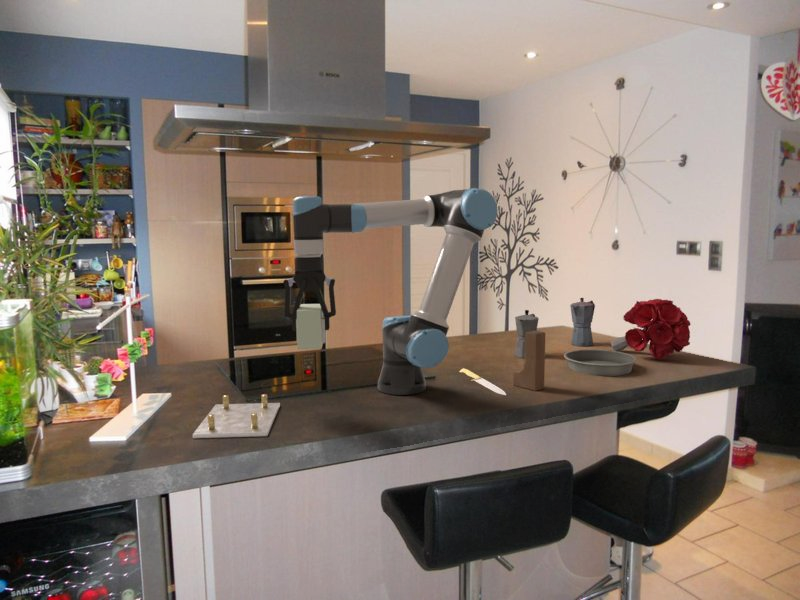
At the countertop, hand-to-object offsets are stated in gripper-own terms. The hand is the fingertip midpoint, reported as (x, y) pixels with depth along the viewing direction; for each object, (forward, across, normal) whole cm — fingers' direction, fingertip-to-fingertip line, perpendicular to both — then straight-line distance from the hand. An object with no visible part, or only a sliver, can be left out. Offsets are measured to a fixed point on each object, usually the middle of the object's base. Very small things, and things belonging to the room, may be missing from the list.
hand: (311, 342), depth 160 cm
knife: (+21, -52, -29) cm, 63 cm away
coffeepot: (+21, -78, -66) cm, 104 cm away
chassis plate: (+20, +19, +3) cm, 28 cm away
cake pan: (+21, -98, -44) cm, 109 cm away
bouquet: (+21, -124, -59) cm, 139 cm away
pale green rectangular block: (0, 0, 0) cm, 0 cm away
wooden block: (+21, -66, -22) cm, 72 cm away
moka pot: (+21, -107, -84) cm, 137 cm away
